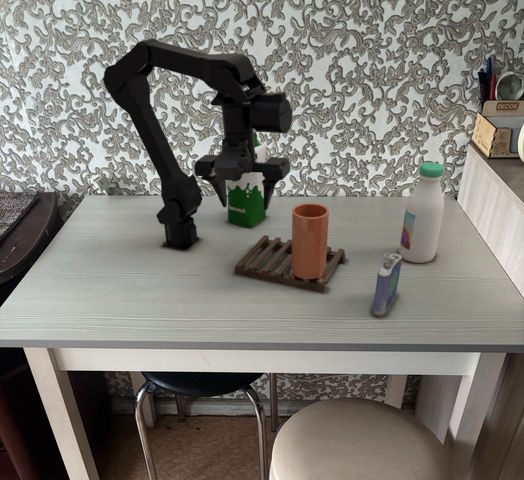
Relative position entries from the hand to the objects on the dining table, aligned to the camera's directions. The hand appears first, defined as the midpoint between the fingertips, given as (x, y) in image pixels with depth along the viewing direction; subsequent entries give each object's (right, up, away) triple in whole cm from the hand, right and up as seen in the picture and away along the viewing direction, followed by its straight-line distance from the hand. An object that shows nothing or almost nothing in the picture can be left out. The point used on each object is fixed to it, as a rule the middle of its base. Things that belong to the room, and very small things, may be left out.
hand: (245, 208), depth 112 cm
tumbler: (+13, -13, -2) cm, 19 cm away
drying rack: (+10, -12, +4) cm, 16 cm away
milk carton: (0, +3, +23) cm, 23 cm away
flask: (+27, -21, -8) cm, 35 cm away
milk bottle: (+38, -9, +7) cm, 39 cm away
